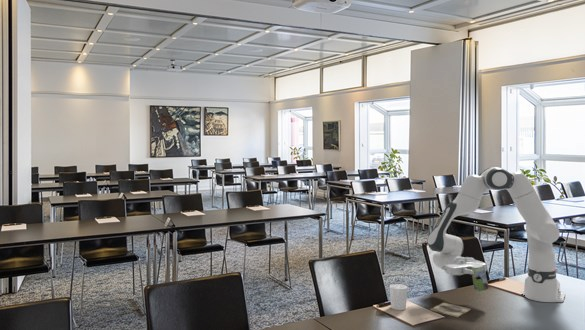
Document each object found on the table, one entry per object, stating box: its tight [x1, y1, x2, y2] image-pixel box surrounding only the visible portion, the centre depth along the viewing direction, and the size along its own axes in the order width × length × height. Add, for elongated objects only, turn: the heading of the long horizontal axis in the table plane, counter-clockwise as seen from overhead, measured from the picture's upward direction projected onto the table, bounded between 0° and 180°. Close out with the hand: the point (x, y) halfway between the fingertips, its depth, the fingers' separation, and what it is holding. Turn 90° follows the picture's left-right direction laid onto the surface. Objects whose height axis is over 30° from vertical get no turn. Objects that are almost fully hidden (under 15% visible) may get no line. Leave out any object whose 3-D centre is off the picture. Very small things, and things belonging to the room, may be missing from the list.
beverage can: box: [471, 264, 489, 293], centre depth 221 cm, size 6×7×12 cm
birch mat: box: [429, 302, 472, 318], centre depth 216 cm, size 13×13×1 cm
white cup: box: [389, 283, 408, 311], centre depth 220 cm, size 8×8×10 cm
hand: (477, 272), depth 219 cm, fingers closed on beverage can, 3 cm apart
